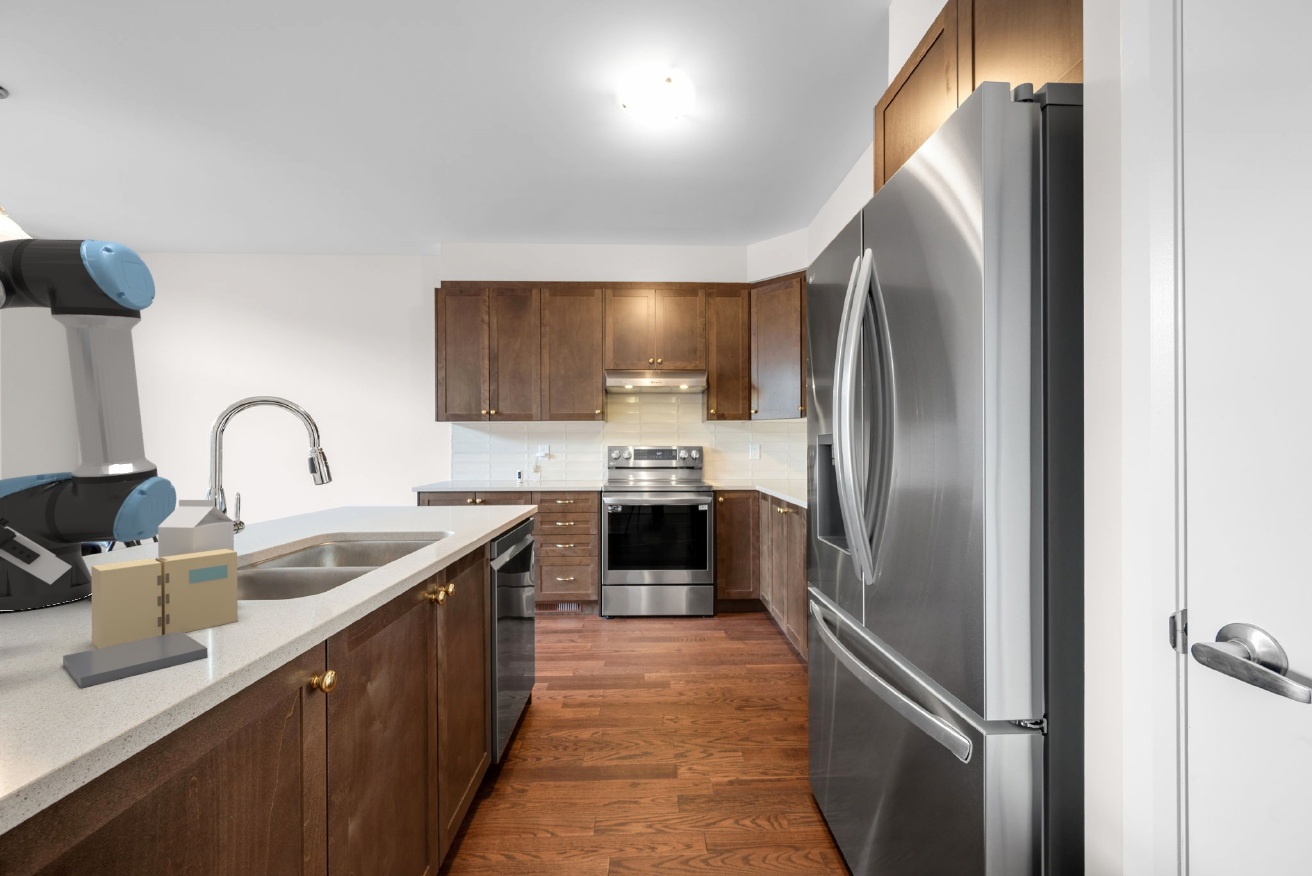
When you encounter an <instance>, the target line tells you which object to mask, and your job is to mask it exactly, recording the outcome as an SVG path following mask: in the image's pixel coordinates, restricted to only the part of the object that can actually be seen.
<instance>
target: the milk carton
mask: <svg viewBox="0 0 1312 876" xmlns="http://www.w3.org/2000/svg"><path fill="white" fill-rule="evenodd" d="M215 502H216V500H215V499H179V500H178V507H177V508H175V510H174V511H173V512H172V513H171V514H170V515H169V516H168V517H167V518H166V519H165V520H164V521H163V522H162V523H161V524H160V525H159V526H158V536H157V539H158V540H157V544H158V545H157V547H158V548H157V549H158V550H157V551H158V553H157V555H158V557H166V556H174V555H182V554H190V553H197V552H205V551H213V550H221V549H229V550H232V551H235V548H234V547H235V546H234V545H235V544H234V543H235V540H234V537H235V536H234V534H235V533H234V529H235V527H234V521H233V519H231V518H230V517H229V516H228V515H226V514H225V513H224V512H222V511H221V510H220V509H219V508H217V507H216V505H215V504H216V503H215ZM158 557H157V558H158Z"/></svg>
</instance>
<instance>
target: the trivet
mask: <svg viewBox="0 0 1312 876" xmlns="http://www.w3.org/2000/svg"><path fill="white" fill-rule="evenodd" d="M205 658H208V647H207V646H205V645H204V644H202V643H200V642H199V641H197V640H195V639H194V638H192V637H191V636H189V635H188V634H186V633H183V632H181V631H179V632H174V633H170V634H165V635H160V636H155V637H151V638H146V639H141V640H136V641H131V642H127V643H122V644H117V645H112V646H108V647H103V648H95V649H90V650H89V649H88V650H84V651H79V652H75V653H70V654H66V655H63V656H62V666H63V667H64V669H65V670H66V671H67V673H68V674H69V675H70V676H71V678H72V679H73V680H74V682H75V683H76V684H77V686H79V688H80V689H84V688H87V687H92V686H95V685H99V684H103V683H106V682H107V683H108V682H112V681H115V680H119V679H124V678H128V677H129V678H130V677H132V676H137V675H140V674H144V673H148V672H149V673H150V672H152V671H156V670H160V669H165V668H168V667H169V668H170V667H173V666H178V665H181V664H185V663H189V662H194V661H198V660H202V659H205Z"/></svg>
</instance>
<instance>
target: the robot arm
mask: <svg viewBox="0 0 1312 876" xmlns="http://www.w3.org/2000/svg"><path fill="white" fill-rule="evenodd" d="M155 296H156V286H155V280H154V278H153V275H152V273H151V271H150V269H149V267H148V265H147V264H146V262H145V261H144V260H143V259H142V258H141V257H140V256H139V254H138V253H136V251H135V250H133V249H131V248H130V247H129V246H126V245H125V244H122V243H118V242H115V241H106V240H104V241H103V240H98V239H95V240H94V239H41V238H17V239H10V240H3V241H0V310H3V309H4V310H5V309H13V308H15V309H16V308H17V309H18V308H44V309H45V308H49V309H50V313H51V314H50V315H51V318H52V319H54V320H55V321H57V322H58V323H59V324H60V325H62V326H63V327H64V328H65V333H66V342H67V343H66V344H67V351H68V360H69V366H70V367H69V368H70V369H69V370H70V376H71V384H72V392H73V400H74V408H75V409H74V410H75V416H76V417H75V418H76V425H77V433H78V440H79V450H80V457H81V458H80V459H81V463H80V465H79V466H77V467H76V468H75V469H74V470H73V471H64V472H52V473H42V474H33V475H24V476H17V477H9V478H3V479H0V610H21V609H28V608H36V609H38V608H37V607H43V606H47V605H53V604H57V603H63V602H66V601H72V600H75V599H79V598H84V597H85V596H88V595H89V594H91V593H92V573H90V570H89V569H88V566H87V563H86V562H85V560H84V558H83V556H82V555H83V554H82V543H107V542H108V543H109V542H119V543H129V542H132V541H142V540H143V541H144V540H148V539H152V538H155V537H156V536H157V535H158V526H159V525H160V524H161V523H162V522H163V521H164V520H165V519H166V518H167V517H168V516H169V515H170V514H171V513H172V512H173V511H174V510H175V509H176V507H177V492H176V487H175V486H174V485H173V484H172V482H171V481H170V480H169V479H167V478H165V477H162V476H159V475H158V474H159V473H158V466H157V465H156V464H155V463H153V462H152V461H150V460H149V459H147V457H146V454H145V453H146V452H145V443H144V433H143V426H142V417H141V408H140V398H139V389H138V379H137V371H136V370H137V369H136V363H135V362H136V361H135V359H136V358H135V351H134V341H133V334H132V330H133V328H135V327H136V326H137V325H138V324H140V323H141V321H142V315H141V314H142V313H141V311H142V310H144V309H147V308H149V307H150V306H152V304H153V300H154V298H156V297H155ZM84 599H85V598H84ZM43 608H44V607H43ZM21 611H22V610H21Z"/></svg>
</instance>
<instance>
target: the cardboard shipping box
mask: <svg viewBox="0 0 1312 876" xmlns="http://www.w3.org/2000/svg"><path fill="white" fill-rule="evenodd" d="M155 560H156V561H158V562H160V563H161V596H162V635H165V634H170V633H174V632H179V631H181V632H183V633H184V634H186V633H190V632H195V631H198V630H203V629H208V628H213V627H216V626H217V627H218V626H223V625H227V624H232V623H236V622H237V623H238V621H239V620H238V615H239V613H238V610H239V609H238V552H237V551H235V550H234V551H232V550H229V549H221V550H213V551H205V552H197V553H190V554H182V555H174V556H166V557H155Z"/></svg>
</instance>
